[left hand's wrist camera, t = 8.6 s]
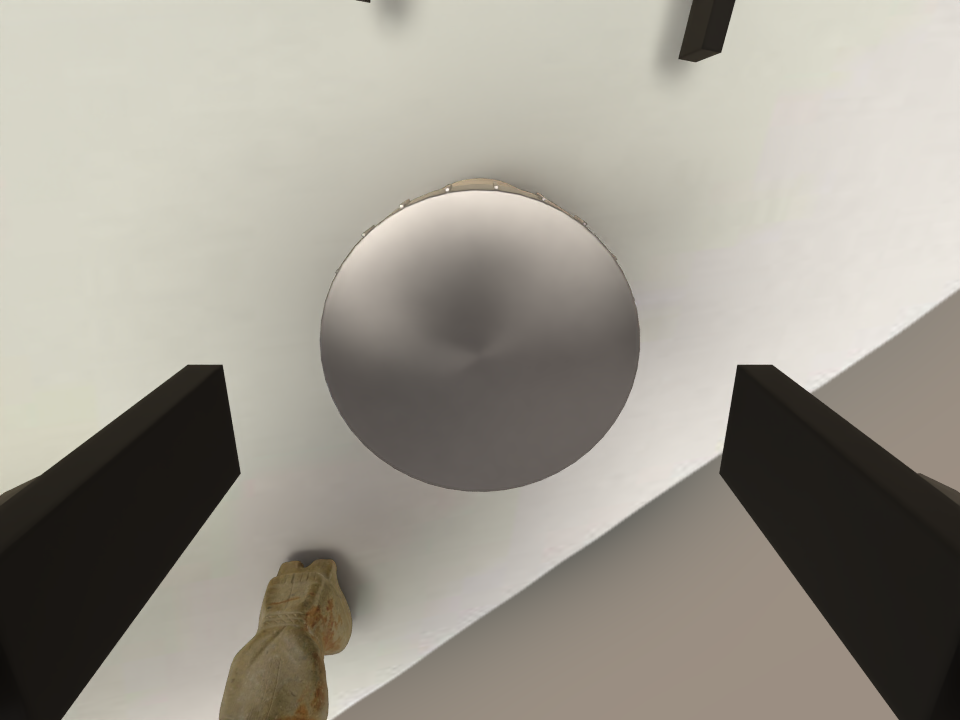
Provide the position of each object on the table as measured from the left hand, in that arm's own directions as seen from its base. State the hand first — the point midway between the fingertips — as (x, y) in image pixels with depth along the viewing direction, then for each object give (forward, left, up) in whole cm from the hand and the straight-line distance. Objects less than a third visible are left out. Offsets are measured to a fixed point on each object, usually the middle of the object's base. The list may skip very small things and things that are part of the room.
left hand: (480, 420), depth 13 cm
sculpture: (-23, -9, -20) cm, 32 cm away
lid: (0, 0, -5) cm, 5 cm away
